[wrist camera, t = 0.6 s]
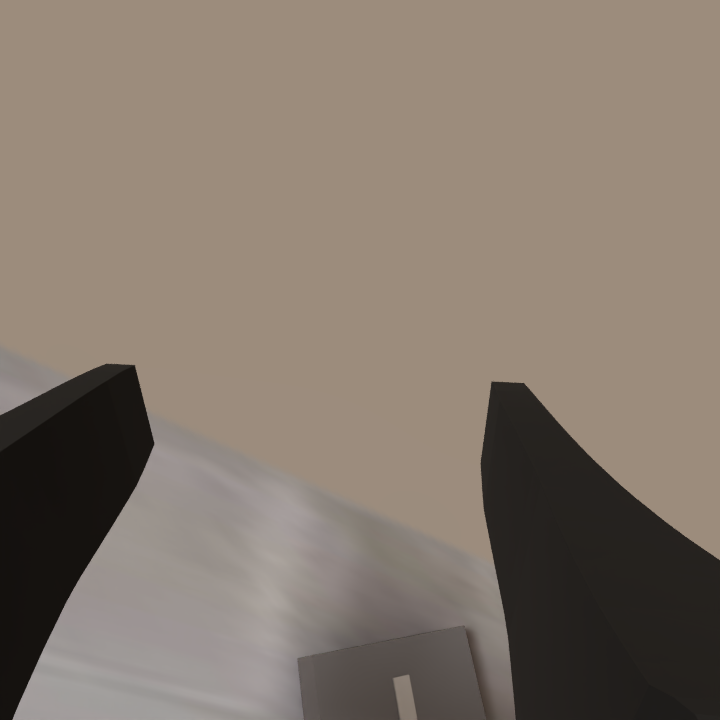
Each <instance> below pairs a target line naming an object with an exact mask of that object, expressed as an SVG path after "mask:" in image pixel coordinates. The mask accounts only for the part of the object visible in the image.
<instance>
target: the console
mask: <svg viewBox="0 0 720 720" xmlns="http://www.w3.org/2000/svg"><path fill="white" fill-rule="evenodd" d="M298 667H299V676H300V685H301V694H302V704H303V713H304V720H486V716H485V711H484V707H483V703H482V699H481V694H480V690H479V686H478V681H477V677H476V673H475V669H474V664H473V660H472V656H471V652H470V647H469V643H468V639H467V635H466V630H465V626H460V627H455V628H449V629H444V630H439V631H434V632H429V633H424V634H419V635H414V636H409V637H404V638H398V639H393V640H388V641H383V642H378V643H373V644H368V645H363V646H358V647H353V648H347V649H342V650H337V651H332V652H327V653H322V654H317V655H312V656H307V657H302V658H298Z"/></svg>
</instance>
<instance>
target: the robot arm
mask: <svg viewBox="0 0 720 720" xmlns="http://www.w3.org/2000/svg"><path fill="white" fill-rule="evenodd" d="M153 446H154V440H153V436H152V432H151V428H150V424H149V420H148V416H147V412H146V408H145V404H144V400H143V396H142V392H141V388H140V384H139V381H138V376H137V372H136V369H135V365H120V364H105V365H102V366H100V367H97V368H95V369H92V370H90V371H88V372H86V373H84V374H82V375H79V376H77V377H75V378H73V379H71V380H69V381H67V382H65V383H63V384H61V385H59V386H57V387H55V388H53V389H51V390H49V391H47V392H46V393H44V394H42V395H40V396H38V397H36V398H34V399H32V400H30V401H28V402H26V403H24V404H22V405H20V406H18V407H16V408H14V409H12V410H10V411H8V412H6V413H4V414H2V415H0V720H12V719H13V717H14V714H15V712H16V709H17V707H18V705H19V702H20V700H21V698H22V696H23V693H24V691H25V689H26V687H27V684H28V682H29V680H30V678H31V675H32V673H33V671H34V669H35V667H36V664H37V662H38V660H39V658H40V655H41V653H42V651H43V649H44V647H45V645H46V643H47V641H48V639H49V636H50V634H51V632H52V630H53V628H54V626H55V624H56V622H57V620H58V618H59V616H60V614H61V612H62V610H63V608H64V606H65V604H66V602H67V600H68V598H69V596H70V594H71V593H72V591H73V589H74V587H75V586H76V584H77V582H78V580H79V578H80V577H81V575H82V574H83V572H84V570H85V569H86V567H87V566H88V564H89V562H90V561H91V559H92V558H93V556H94V554H95V553H96V551H97V549H98V548H99V546H100V545H101V543H102V541H103V540H104V538H105V537H106V535H107V533H108V532H109V530H110V529H111V527H112V525H113V524H114V522H115V521H116V519H117V517H118V516H119V514H120V512H121V511H122V509H123V507H124V506H125V504H126V502H127V501H128V499H129V498H130V496H131V494H132V492H133V491H134V489H135V487H136V486H137V483H138V481H139V479H140V477H141V475H142V472H143V470H144V468H145V466H146V463H147V461H148V458H149V456H150V453H151V451H152V449H153ZM481 476H482V491H483V504H484V512H485V517H486V523H487V528H488V533H489V538H490V543H491V549H492V553H493V559H494V564H495V569H496V574H497V579H498V584H499V589H500V594H501V599H502V604H503V609H504V614H505V621H506V627H507V634H508V641H509V651H510V661H511V672H512V682H513V692H514V704H515V715H516V720H720V560H719V559H717V558H716V557H714V556H713V555H711V554H710V553H708V552H707V551H705V550H704V549H702V548H701V547H700V546H698V545H697V544H695V543H694V542H692V541H691V540H689V539H688V538H687V537H685V536H684V535H682V534H681V533H680V532H678V531H677V530H675V529H674V528H673V527H672V526H670V525H669V524H668V523H666V522H665V521H664V520H662V519H661V518H660V517H659V516H657V515H656V514H655V513H654V512H652V511H651V510H650V509H649V508H647V507H646V506H645V505H644V504H642V503H641V502H640V501H639V500H637V499H636V498H635V497H634V496H633V495H631V494H630V493H629V492H628V491H627V490H626V489H624V488H623V487H622V486H621V485H620V484H619V483H618V482H617V481H615V480H614V479H613V478H612V477H611V476H610V475H609V474H608V473H607V472H606V471H605V470H604V469H602V467H600V466H599V465H598V464H597V463H596V462H595V461H594V460H593V459H592V458H591V457H590V456H589V455H588V454H587V453H586V452H585V451H584V450H583V449H582V448H581V447H580V446H579V445H578V444H577V442H576V441H575V440H574V439H573V438H572V437H571V436H570V435H569V434H568V433H567V432H566V431H565V430H564V429H563V427H562V426H561V425H560V424H559V423H558V422H557V421H556V420H555V418H554V417H553V416H552V415H551V414H550V413H549V412H548V410H547V409H546V408H545V407H544V406H543V405H542V403H541V402H540V401H539V400H538V399H537V398H536V396H535V395H534V394H533V393H532V392H531V391H530V389H529V388H528V387H527V386H526V385H525V384H524V383H509V382H492V383H491V390H490V398H489V406H488V413H487V420H486V427H485V435H484V442H483V450H482V457H481Z"/></svg>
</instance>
